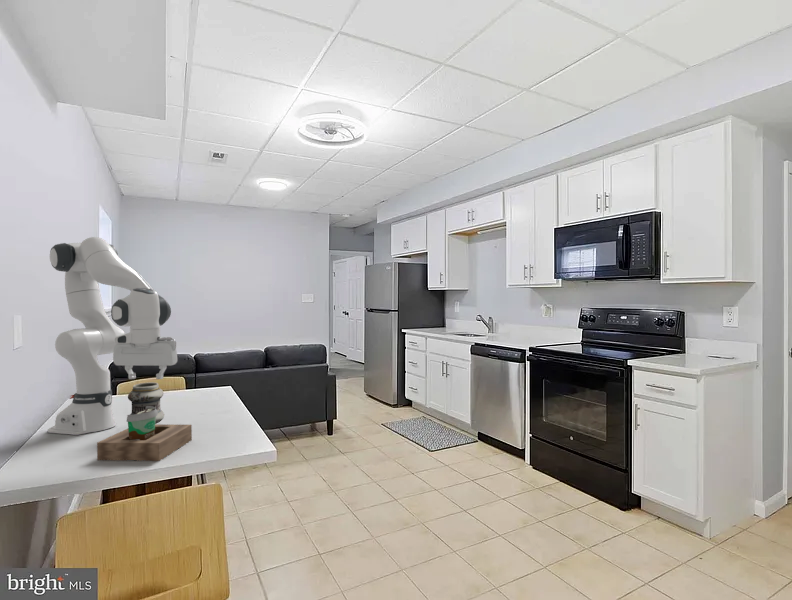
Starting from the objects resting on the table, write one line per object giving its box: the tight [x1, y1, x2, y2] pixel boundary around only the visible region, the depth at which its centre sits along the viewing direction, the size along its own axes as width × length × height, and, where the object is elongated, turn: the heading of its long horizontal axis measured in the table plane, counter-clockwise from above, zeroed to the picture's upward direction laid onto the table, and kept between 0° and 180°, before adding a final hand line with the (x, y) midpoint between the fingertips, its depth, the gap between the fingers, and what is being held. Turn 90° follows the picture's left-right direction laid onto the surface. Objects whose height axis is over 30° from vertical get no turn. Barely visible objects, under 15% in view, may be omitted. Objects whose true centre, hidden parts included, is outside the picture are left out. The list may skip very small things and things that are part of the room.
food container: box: [126, 406, 158, 440], centre depth 153 cm, size 12×6×10 cm, turn 1°
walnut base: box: [96, 423, 193, 462], centre depth 153 cm, size 20×20×6 cm
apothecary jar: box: [127, 381, 165, 424], centre depth 173 cm, size 12×12×18 cm
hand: (146, 378), depth 153 cm, fingers open, 8 cm apart
